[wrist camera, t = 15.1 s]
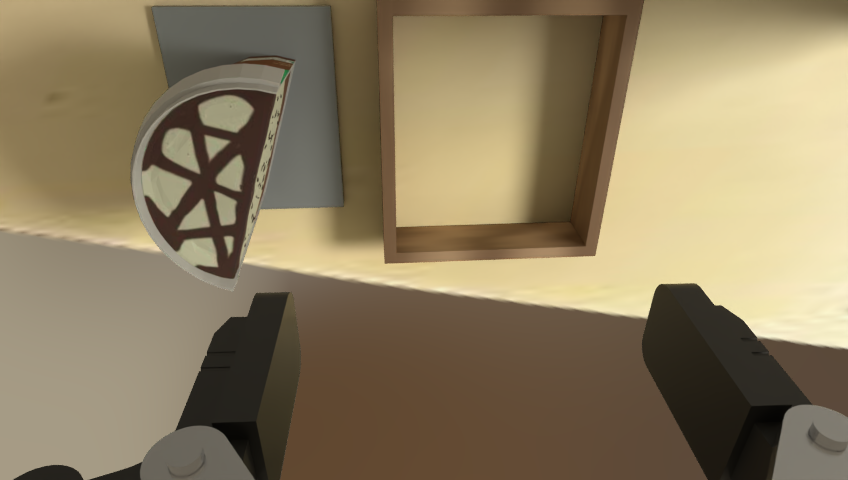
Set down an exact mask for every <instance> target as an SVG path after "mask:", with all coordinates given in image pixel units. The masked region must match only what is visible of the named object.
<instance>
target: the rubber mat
mask: <svg viewBox="0 0 848 480" xmlns="http://www.w3.org/2000/svg"><path fill="white" fill-rule="evenodd" d="M152 12H153V17H154V21H155V26H156V31H157V35H158V40H159V44H160V49H161V54H162V58H163V63H164V68H165V72H166V77H167V81H168V86H169V88H170V87H172V86H173V85H175V84H176V83H178V82H179V81H181V80H182V79H184V78H186V77H188V76H190V75H193V74H195V73H197V72H199V71H202V70H205V69H209V68H213V67H217V66H221V65H231V64H233V63H236V62H238V61H241V60H244V59H246V58H249V57H256V56H275V55H277V56H281V57H286V58H290V59H295V60H296V61H295V66H294V70H293V74H292V79H291V83H290V88H289V92H288V96H287V101H286V105H285V109H284V114H283V118H282V122H281V127H280V131H279V136H278V140H277V144H276V149H275V153H274V157H273V162H272V166H271V171H270V175H269V179H268V184H267V188H266V192H265V196H264V199H263V202H262V205H261V208H260V209H286V208H320V207H344V198H343V184H342V169H341V154H340V139H339V125H338V110H337V95H336V80H335V66H334V51H333V36H332V21H331V6H153V7H152Z"/></svg>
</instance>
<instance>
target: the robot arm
mask: <svg viewBox="0 0 848 480" xmlns="http://www.w3.org/2000/svg"><path fill="white" fill-rule="evenodd" d="M642 352H643V358H644V361H645V364H646V366H647V368H648V370H649V372H650V374H651V375H652V377H653V379H654V381H655V383H656V385H657V387H658V389H659V390H660V392H661V394H662V396H663V398H664V399H665V401H666V403H667V405H668V407H669V409H670V411H671V412H672V414H673V416H674V418H675V420H676V422H677V424H678V425H679V427H680V429H681V431H682V433H683V435H684V437H685V438H686V440H687V442H688V444H689V446H690V448H691V450H692V451H693V453H694V455H695V457H696V459H697V461H698V463H699V464H700V466H701V468H702V470H703V472H704V474H705V475H706V477H707V479H708V480H848V417H846V416H844V415H842V414H840V413H838V412H836V411H833V410H831V409H827V408H824V407H820V406H815V405H812V404H811V402H810V401H809V400H808V399H807V397H806V396H805V395H804V394H803V393H802V391H800V389H799V388H798V387H797V385H796V384H795V383H794V382H793V381H792V379H791V378H790V377H789V376H788V374H787V373H786V372H785V371H784V370H783V368H782V367H781V366H780V365H779V363H778V362H777V361H776V360H775V359H774V357H773V356H772V355H769V351H768V350H767V349H766V348H765V346H764V345H763V344H762V343H761V342H760V341H757V337H756V336H755V334H754V333H753V332H752V331H751V329H750V328H749V327H748V326H747V325H746V323H745V322H744V321H743V320H742V319H740V318H739V317H737V316H736V315H734V314H733V313H732V312H730V311H729V310H727V309H726V308H724V307H723V306H721V305H719V306H715V305H714V304H713V303H712V302H711V300H710V299H709V298H708V296H707V295H706V294H705V293H704V291H703V290H702V289H701V288H700V287H699V286H698V285H697V284H695V283H690V284H661V285H659V286H658V287H657V288H656V290H655V293H654V296H653V300H652V304H651V308H650V312H649V315H648V319H647V323H646V327H645V331H644V334H643V340H642ZM300 365H301V351H300V342H299V334H298V327H297V320H296V312H295V306H294V299H293V295H292V293H291V292H281V293H256V294H255V296H254V299H253V301H252V304H251V307H250V310H249V313H248V316H247V317H231V318H229V319H228V320H227V321H226V323H224V325H222V326H221V327H220V329H219V330H217V331H216V332H215V333H214V336H213V338H212V341H211V343H210V346H209V348H208V351H207V356H205V358H204V361H203V363H202V366H201V371H199V373H198V376H197V378H196V381H195V383H194V386H193V388H192V391H191V393H190V396H189V398H188V401H187V403H186V406H185V408H184V411H183V413H182V416H181V418H180V421H179V423H178V426H177V428H176V430H175V431H174V432H172V433H170V434H168V435H167V436H165V437H163V438H162V439H161V440H159V441H158V442H157V443H156V444H155V445H154V446H153V447H152V448H151V449H150V450H149V451H148V453H147V454H146V456H145V457H144V459H143V462H141V463H139V464H137V465H134V466H132V467H129V468H126V469H123V470H120V471H117V472H114V473H110V474H107V475H103V476H100V477H97V478H93V479H90V480H280V477H281V471H282V466H283V461H284V455H285V450H286V445H287V439H288V434H289V428H290V423H291V418H292V412H293V408H294V402H295V397H296V392H297V386H298V381H299V375H300ZM14 480H83V478H82V476H81V475H80V473H79V472H78V471H77V470H75V469H74V468H71V467H68V466H63V465H51V466H44V467H41V468H37V469H34V470H32V471H29V472H27V473H25V474H23V475H21V476H19V477H17V478H15V479H14Z"/></svg>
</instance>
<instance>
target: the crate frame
mask: <svg viewBox="0 0 848 480" xmlns="http://www.w3.org/2000/svg"><path fill="white" fill-rule="evenodd" d="M643 3H644V0H377V30H378V64H379V98H380V132H381V166H382V200H383V234H384V257H385V264H387V263H414V262H442V261H469V260H496V259H523V258H550V257H578V256H595V254H596V249H597V244H598V239H599V233H600V228H601V223H602V218H603V212H604V207H605V202H606V197H607V191H608V186H609V181H610V176H611V171H612V165H613V160H614V155H615V150H616V144H617V139H618V134H619V129H620V123H621V118H622V113H623V108H624V102H625V97H626V92H627V87H628V82H629V76H630V71H631V66H632V61H633V55H634V50H635V45H636V40H637V34H638V29H639V24H640V19H641V14H642V8H643ZM506 15H603V21H602V27H601V33H600V39H599V46H598V52H597V58H596V64H595V71H594V77H593V83H592V89H591V96H590V102H589V108H588V115H587V121H586V127H585V133H584V140H583V146H582V152H581V158H580V165H579V171H578V177H577V184H576V190H575V196H574V202H573V209H572V215H571V221H570V222H552V223H520V224H489V225H458V226H427V227H396V193H395V132H394V71H393V16H506Z"/></svg>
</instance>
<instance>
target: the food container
mask: <svg viewBox="0 0 848 480" xmlns="http://www.w3.org/2000/svg"><path fill="white" fill-rule="evenodd" d="M295 61H296V60H295V59H290V58H286V57H281V56H277V55H275V56H256V57H249V58H246V59H244V60H241V61H238V62H236V63H233V64H231V65H221V66H217V67H213V68H209V69H205V70H202V71H199V72H197V73H195V74H193V75H190V76H188V77H186V78H184V79H182V80H181V81H179V82H178V83H176V84H175V85H173V86H172V87H170V88H169V89H168V90H167V91H166V92H165V93H164V94H163V95H162V96H161V97H160V98H159V99H158V100H157V101H156V102H155V103H154V104H153V106H152V107H151V109H150V110H149V112H148V113H147V115H146V116H145V118H144V120H143V122H142V125H141V127H140V130H139V132H138V135H137V138H136V142H135V146H134V150H133V155H132V160H131V186H132V192H133V197H134V200H135V205H136V208H137V211H138V213H139V216H140V219H141V221H142V223H143V225H144V227H145V228H146V230H147V232H148V234H149V236H150V237H151V238H152V239H153V241H154V242H155V243H156V245H157V246H158V247H159V249H160V250H161V251H162V252H163V253H164V254H165V255H166V256H167V257H168V258H169V259H171V260H172V261H173V262H174V263H175V264H177V265H178V266H179V267H181V268H182V269H183V270H185V271H186V272H188V273H190V274H191V275H193V276H195V277H196V278H198V279H200V280H202V281H204V282H206V283H209V284H212V285H214V286H216V287H219V288H222V289H226V290H230V291H233V290H234V288H235V286H236V283H237V281H238V278H239V272H240V269H241V266H242V263H243V260H244V257H245V254H246V251H247V248H248V245H249V242H250V239H251V236H252V233H253V230H254V226H255V223H256V220H257V217H258V214H259V211H260V208H261V205H262V202H263V199H264V196H265V192H266V188H267V184H268V179H269V175H270V171H271V166H272V162H273V157H274V153H275V149H276V144H277V140H278V136H279V131H280V127H281V122H282V118H283V114H284V109H285V105H286V101H287V96H288V92H289V88H290V83H291V79H292V74H293V70H294V66H295Z"/></svg>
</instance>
